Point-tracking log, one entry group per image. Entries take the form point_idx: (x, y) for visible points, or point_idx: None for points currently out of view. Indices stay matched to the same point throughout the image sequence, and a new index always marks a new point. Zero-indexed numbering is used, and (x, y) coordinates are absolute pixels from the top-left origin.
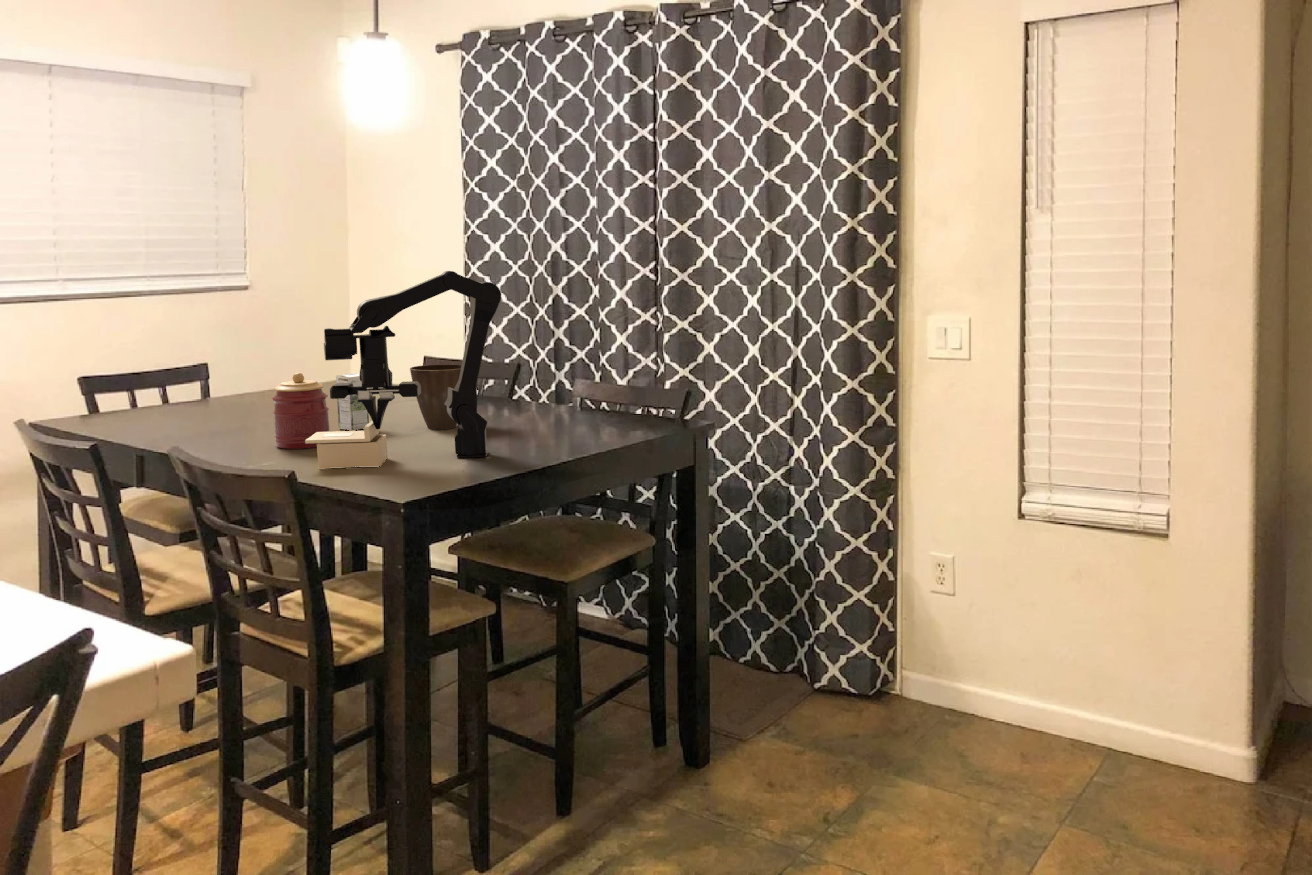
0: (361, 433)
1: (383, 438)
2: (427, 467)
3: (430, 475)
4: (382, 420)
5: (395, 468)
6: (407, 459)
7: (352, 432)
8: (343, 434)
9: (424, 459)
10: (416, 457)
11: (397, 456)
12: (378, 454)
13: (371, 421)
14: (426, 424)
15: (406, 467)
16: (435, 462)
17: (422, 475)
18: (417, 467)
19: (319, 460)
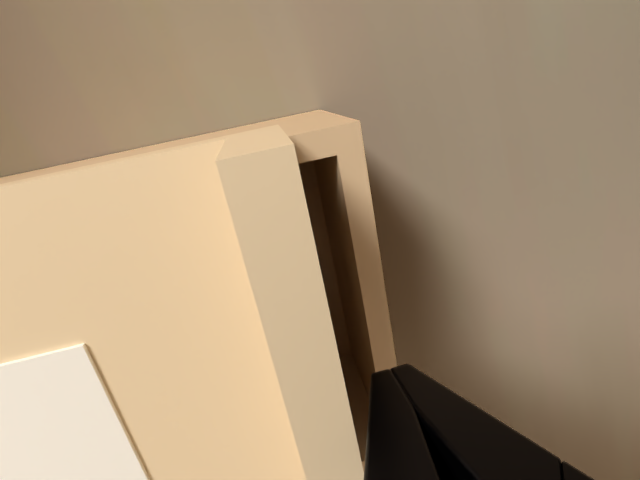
0: (183, 346)
1: (378, 261)
2: (591, 321)
3: (614, 448)
4: (473, 413)
5: (448, 359)
6: (454, 128)
7: (33, 300)
8: (27, 438)
9: (554, 123)
10: (496, 57)
11: (359, 20)
12: None
13: (285, 360)
14: None
15: (495, 333)
16: (619, 205)
17: (585, 453)
18: (546, 326)
19: None
